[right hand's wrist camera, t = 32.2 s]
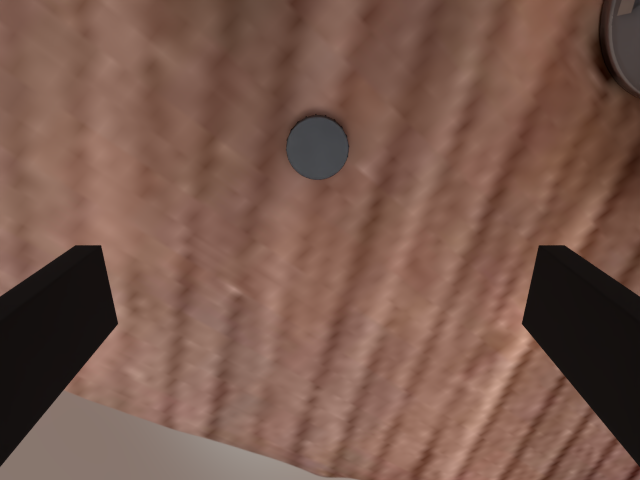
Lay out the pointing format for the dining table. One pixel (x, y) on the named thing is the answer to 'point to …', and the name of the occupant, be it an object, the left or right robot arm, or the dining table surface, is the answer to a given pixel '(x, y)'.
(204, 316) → the dining table surface
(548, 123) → the dining table surface
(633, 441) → the right robot arm
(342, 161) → the lid
